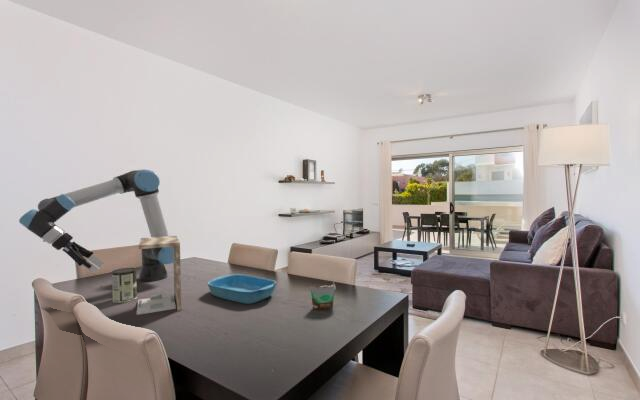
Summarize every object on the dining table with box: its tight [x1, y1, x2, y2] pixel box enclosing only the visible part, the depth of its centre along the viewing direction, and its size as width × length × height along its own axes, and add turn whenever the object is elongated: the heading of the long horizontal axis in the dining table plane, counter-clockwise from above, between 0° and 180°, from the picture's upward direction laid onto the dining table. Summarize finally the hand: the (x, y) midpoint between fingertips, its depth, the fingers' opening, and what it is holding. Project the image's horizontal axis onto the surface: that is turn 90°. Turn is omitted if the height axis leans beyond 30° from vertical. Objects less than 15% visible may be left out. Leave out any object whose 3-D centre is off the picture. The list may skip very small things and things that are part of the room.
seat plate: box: [136, 294, 177, 316], centre depth 147 cm, size 15×18×2 cm
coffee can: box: [111, 267, 138, 304], centre depth 156 cm, size 10×10×14 cm
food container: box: [309, 282, 337, 311], centre depth 142 cm, size 12×6×10 cm, turn 117°
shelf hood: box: [138, 235, 182, 312], centre depth 148 cm, size 16×24×30 cm, turn 27°
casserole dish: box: [207, 273, 277, 304], centre depth 161 cm, size 37×22×7 cm, turn 57°
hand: (99, 268), depth 151 cm, fingers open, 13 cm apart
